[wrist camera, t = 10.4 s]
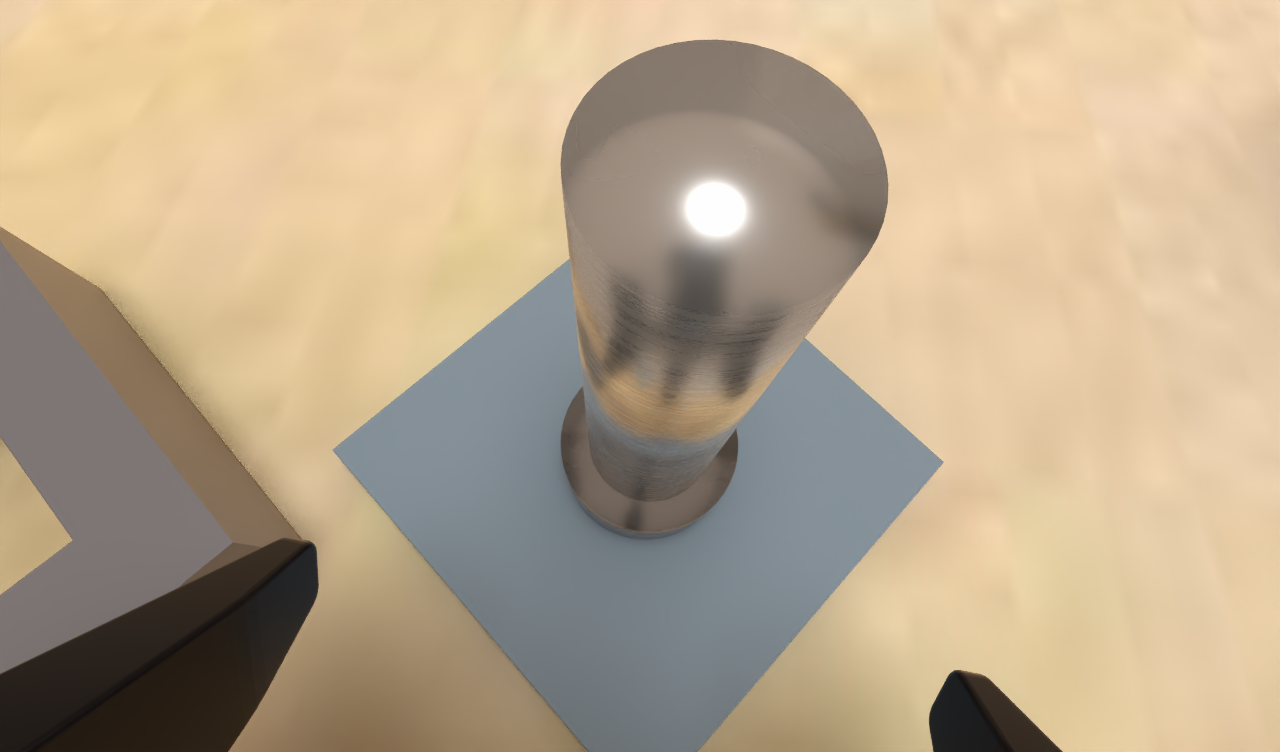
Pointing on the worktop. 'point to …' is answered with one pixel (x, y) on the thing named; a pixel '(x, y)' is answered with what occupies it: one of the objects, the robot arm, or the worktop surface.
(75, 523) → the socket block
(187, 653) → the robot arm
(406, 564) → the worktop surface
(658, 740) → the mat
